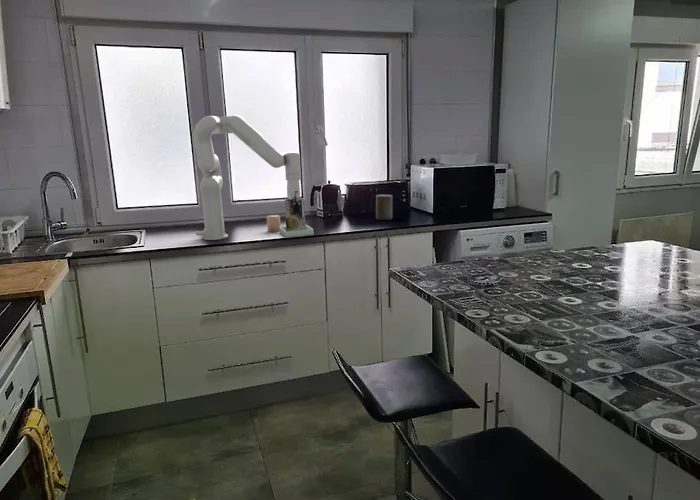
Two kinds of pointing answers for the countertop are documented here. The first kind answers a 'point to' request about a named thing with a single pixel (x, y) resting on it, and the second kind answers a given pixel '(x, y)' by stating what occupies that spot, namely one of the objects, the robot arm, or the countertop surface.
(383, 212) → the pillar candle
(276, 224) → the light brown rounded block
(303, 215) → the coffee box
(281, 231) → the tray
